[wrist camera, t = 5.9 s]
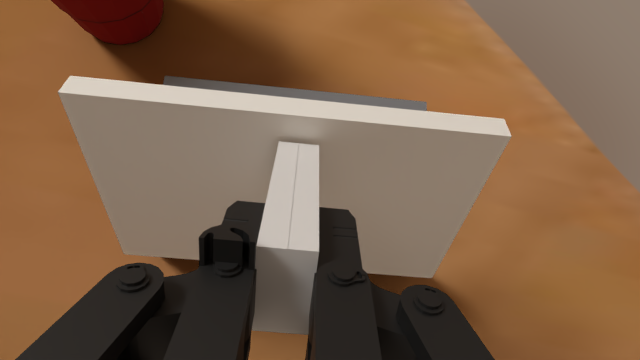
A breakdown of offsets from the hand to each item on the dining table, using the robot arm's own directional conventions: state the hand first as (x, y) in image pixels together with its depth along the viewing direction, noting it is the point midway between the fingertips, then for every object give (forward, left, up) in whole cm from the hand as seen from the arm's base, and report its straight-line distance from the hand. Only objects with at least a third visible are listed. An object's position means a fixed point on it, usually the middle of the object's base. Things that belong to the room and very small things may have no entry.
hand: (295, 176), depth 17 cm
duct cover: (0, 0, -3) cm, 3 cm away
